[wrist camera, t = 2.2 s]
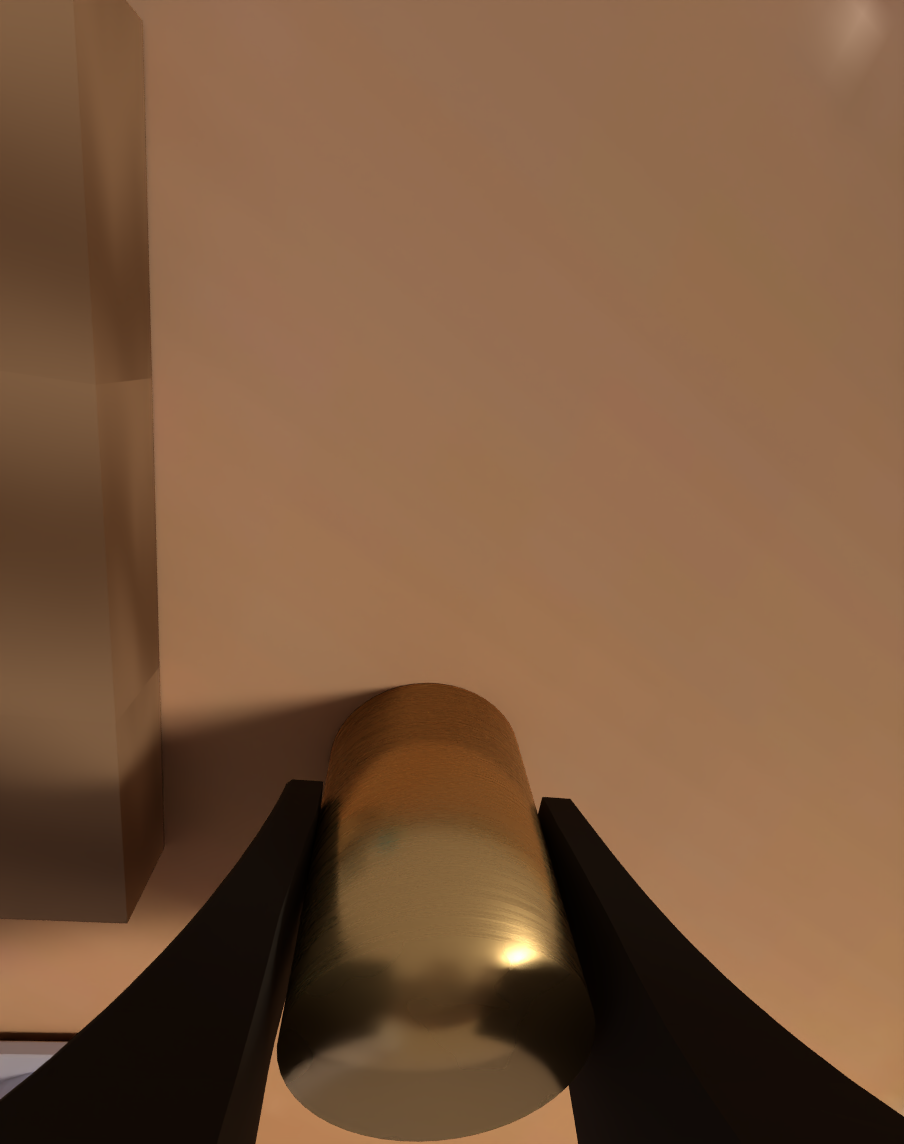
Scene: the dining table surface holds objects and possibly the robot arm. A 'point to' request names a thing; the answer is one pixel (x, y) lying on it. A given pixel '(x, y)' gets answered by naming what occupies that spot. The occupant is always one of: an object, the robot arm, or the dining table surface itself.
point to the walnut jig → (76, 468)
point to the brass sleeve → (431, 932)
